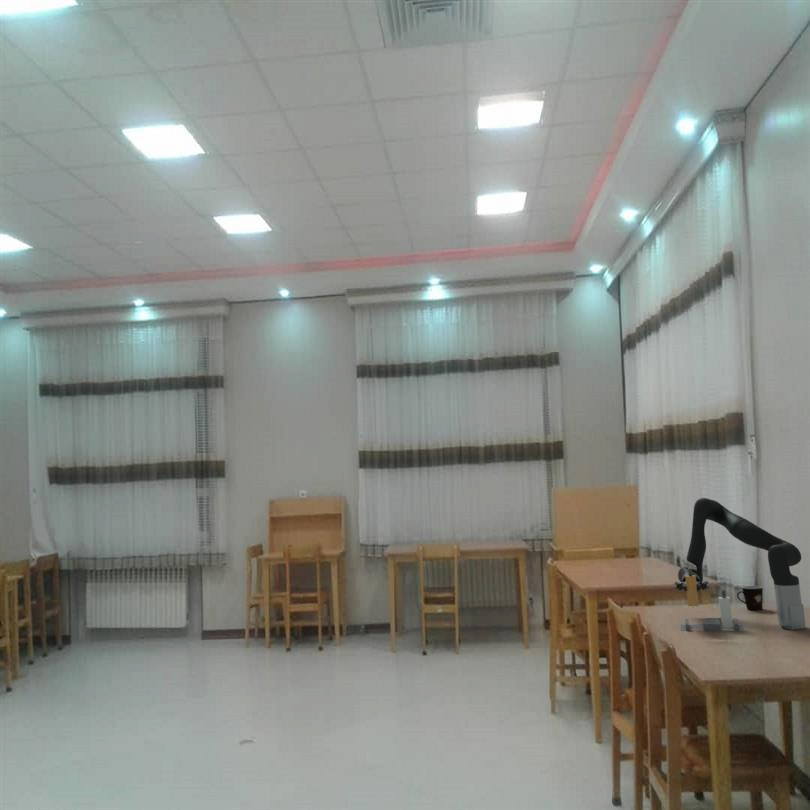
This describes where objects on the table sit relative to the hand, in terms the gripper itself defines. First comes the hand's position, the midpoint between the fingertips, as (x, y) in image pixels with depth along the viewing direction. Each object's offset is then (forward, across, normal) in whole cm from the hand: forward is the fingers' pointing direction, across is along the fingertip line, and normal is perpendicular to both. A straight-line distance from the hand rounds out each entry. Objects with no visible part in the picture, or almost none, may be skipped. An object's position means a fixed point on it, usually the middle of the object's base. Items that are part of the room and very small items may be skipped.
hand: (691, 588), depth 311 cm
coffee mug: (-47, +24, +18) cm, 56 cm away
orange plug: (-3, 0, +7) cm, 8 cm away
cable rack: (-3, +6, +17) cm, 19 cm away
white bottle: (-3, +12, +16) cm, 20 cm away
